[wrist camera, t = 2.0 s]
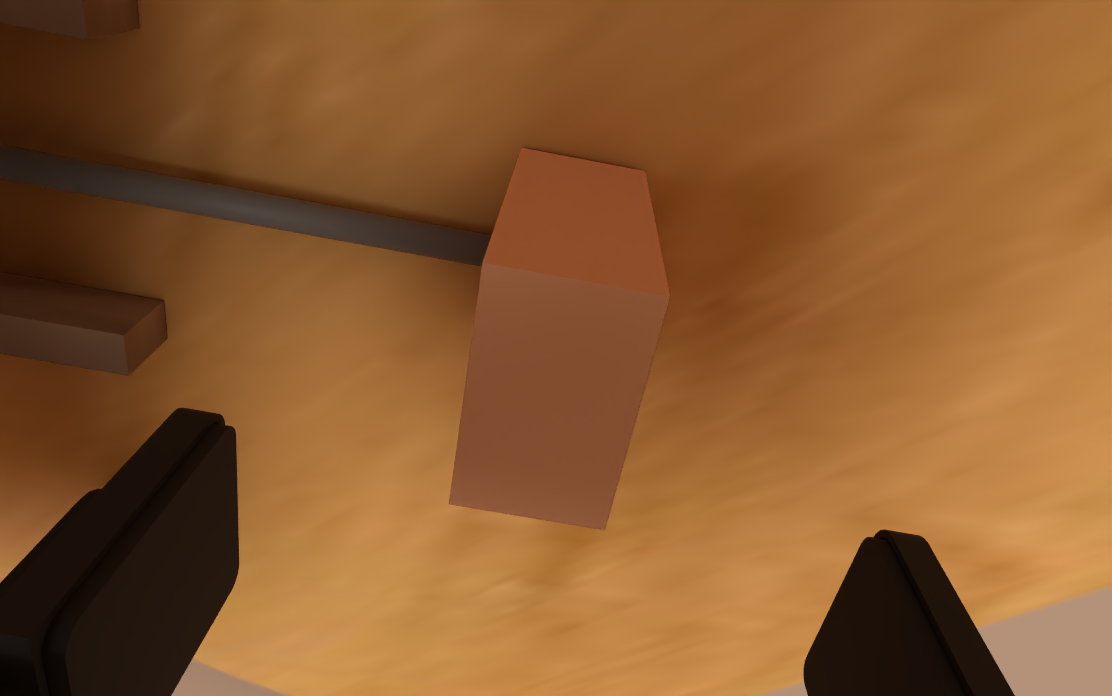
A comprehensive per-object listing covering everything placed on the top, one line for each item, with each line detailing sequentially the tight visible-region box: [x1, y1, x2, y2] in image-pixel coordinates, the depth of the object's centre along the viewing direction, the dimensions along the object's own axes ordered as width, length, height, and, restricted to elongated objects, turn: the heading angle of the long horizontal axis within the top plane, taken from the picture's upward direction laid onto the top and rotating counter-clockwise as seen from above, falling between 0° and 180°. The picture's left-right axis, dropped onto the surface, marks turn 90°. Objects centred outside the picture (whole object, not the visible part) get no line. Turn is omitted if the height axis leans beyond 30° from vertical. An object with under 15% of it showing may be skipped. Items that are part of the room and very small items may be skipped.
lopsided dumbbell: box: [0, 145, 670, 530], centre depth 16 cm, size 6×23×7 cm, turn 80°
